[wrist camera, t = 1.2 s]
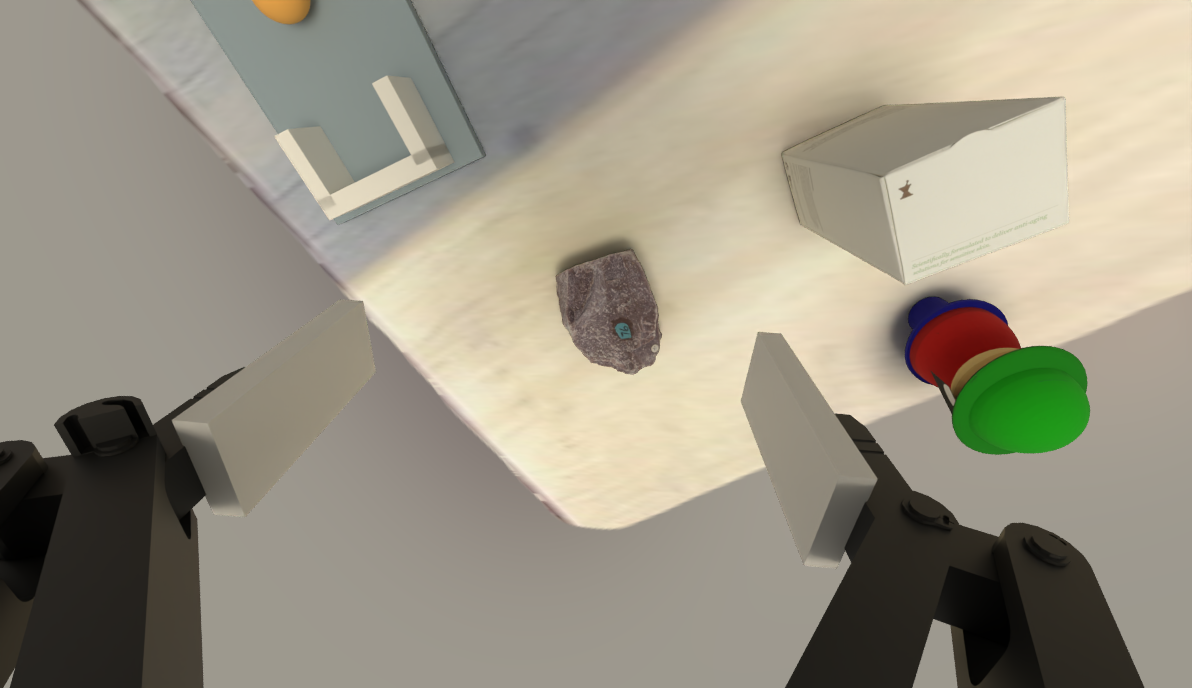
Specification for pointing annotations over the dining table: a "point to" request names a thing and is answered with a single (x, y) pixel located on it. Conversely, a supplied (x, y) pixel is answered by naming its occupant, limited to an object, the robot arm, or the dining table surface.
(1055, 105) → the skincare box
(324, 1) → the pitch
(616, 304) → the rock
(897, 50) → the dining table surface
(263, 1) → the ball
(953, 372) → the toy
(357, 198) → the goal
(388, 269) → the dining table surface
